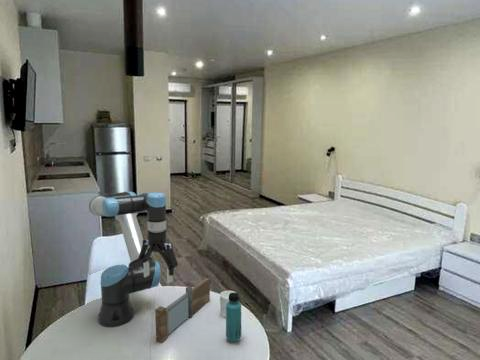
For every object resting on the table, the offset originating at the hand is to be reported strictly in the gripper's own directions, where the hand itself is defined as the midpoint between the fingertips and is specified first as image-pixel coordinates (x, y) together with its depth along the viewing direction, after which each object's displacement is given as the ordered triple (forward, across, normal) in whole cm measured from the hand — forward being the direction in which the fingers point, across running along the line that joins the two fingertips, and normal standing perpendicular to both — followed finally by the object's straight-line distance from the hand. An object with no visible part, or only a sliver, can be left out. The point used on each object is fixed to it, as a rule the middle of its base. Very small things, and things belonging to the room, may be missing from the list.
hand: (158, 279), depth 145 cm
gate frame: (+22, +7, +10) cm, 25 cm away
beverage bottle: (+22, +33, +6) cm, 40 cm away
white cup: (+22, +22, +22) cm, 39 cm away
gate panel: (+21, +7, +3) cm, 22 cm away
